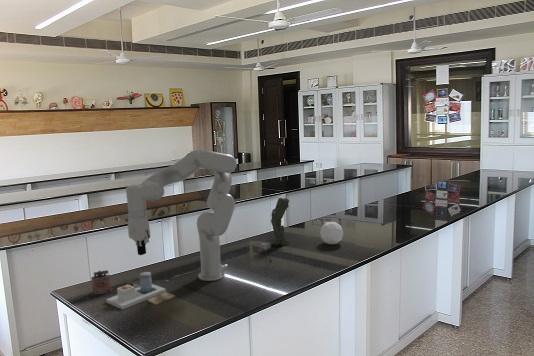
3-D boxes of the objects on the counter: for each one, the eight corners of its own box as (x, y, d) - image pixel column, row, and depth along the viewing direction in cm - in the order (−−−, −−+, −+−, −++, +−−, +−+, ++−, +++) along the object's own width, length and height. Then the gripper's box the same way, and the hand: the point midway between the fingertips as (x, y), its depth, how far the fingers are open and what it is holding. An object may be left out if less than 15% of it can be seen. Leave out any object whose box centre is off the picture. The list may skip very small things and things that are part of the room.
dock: (149, 286, 209) (148, 273, 208) (166, 291, 201) (165, 279, 200) (106, 302, 192) (105, 289, 191) (122, 309, 184) (121, 295, 183)
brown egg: (127, 294, 194) (126, 284, 194) (131, 296, 192) (130, 286, 192) (121, 296, 192) (121, 286, 191) (125, 298, 190) (124, 288, 190)
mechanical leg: (272, 247, 257) (280, 198, 258) (264, 245, 263) (272, 196, 263) (289, 248, 266) (296, 200, 266) (281, 245, 271) (288, 198, 271)
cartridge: (147, 290, 204) (146, 271, 202) (154, 292, 200) (153, 273, 199) (138, 293, 200) (137, 274, 199) (145, 296, 197) (143, 276, 195)
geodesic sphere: (310, 235, 263) (323, 218, 257) (319, 229, 275) (332, 213, 269) (329, 252, 259) (343, 235, 253) (337, 245, 271) (350, 229, 265)
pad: (166, 293, 199) (166, 292, 199) (175, 296, 195) (174, 295, 195) (147, 301, 192) (147, 299, 192) (156, 304, 188) (155, 303, 188)
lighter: (92, 294, 200) (90, 273, 199) (93, 292, 204) (91, 271, 202) (111, 292, 203) (109, 271, 201) (111, 289, 206) (109, 268, 204)
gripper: (120, 213, 196) (124, 253, 199) (140, 217, 186) (145, 259, 189) (134, 209, 201) (139, 249, 204) (155, 213, 192) (159, 254, 195)
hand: (142, 254), depth 197 cm, fingers closed
